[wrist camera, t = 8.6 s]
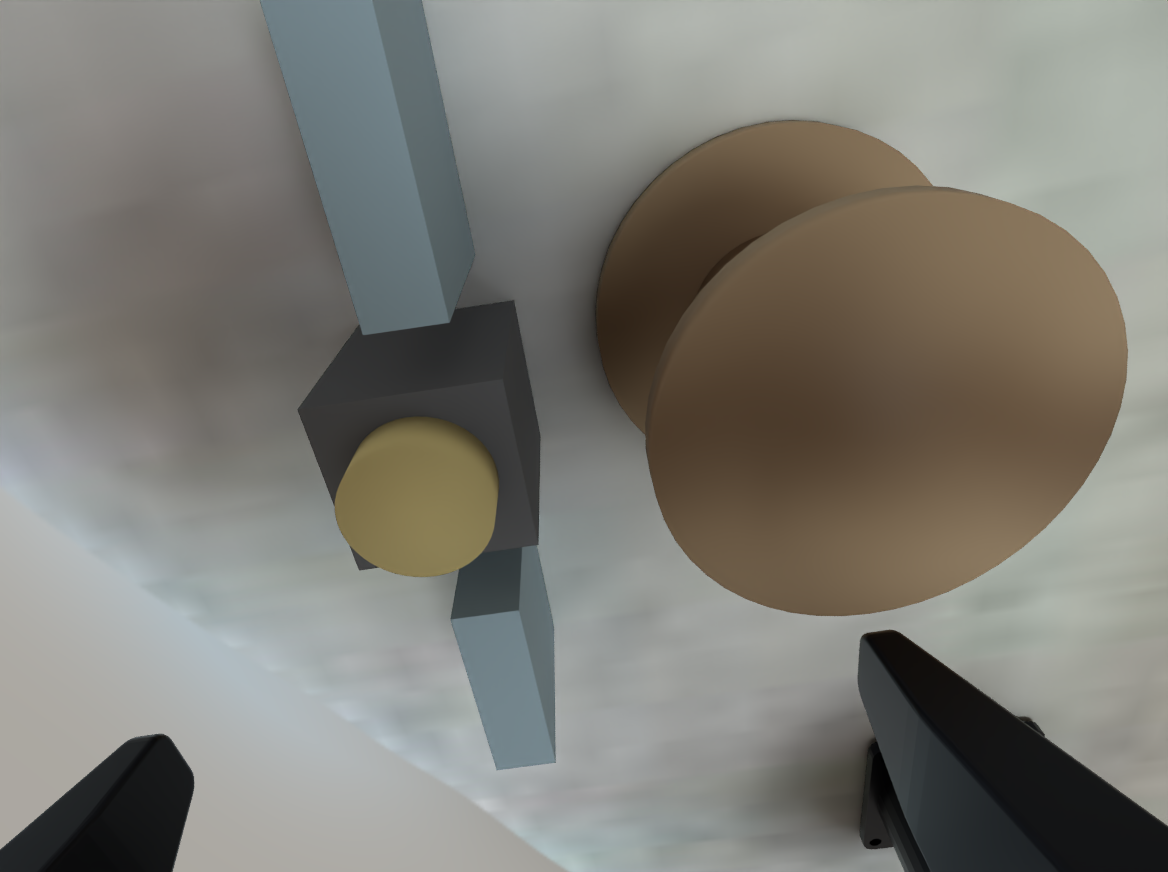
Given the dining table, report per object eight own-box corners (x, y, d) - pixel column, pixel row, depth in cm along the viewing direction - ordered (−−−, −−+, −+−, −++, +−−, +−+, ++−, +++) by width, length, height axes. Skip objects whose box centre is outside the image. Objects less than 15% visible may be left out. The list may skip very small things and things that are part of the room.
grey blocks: (553, 627, 23) (555, 762, 18) (506, 634, 23) (496, 770, 18) (419, -10, 14) (361, -43, 10) (343, 1, 14) (251, -26, 10)
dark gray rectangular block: (514, 300, 17) (498, 406, 12) (540, 436, 19) (537, 581, 14) (359, 323, 18) (275, 439, 12) (401, 456, 19) (344, 608, 14)
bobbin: (922, 435, 20) (1091, 602, 14) (616, 478, 20) (646, 661, 14) (964, 92, 16) (1237, 111, 9) (572, 151, 16) (589, 207, 10)
